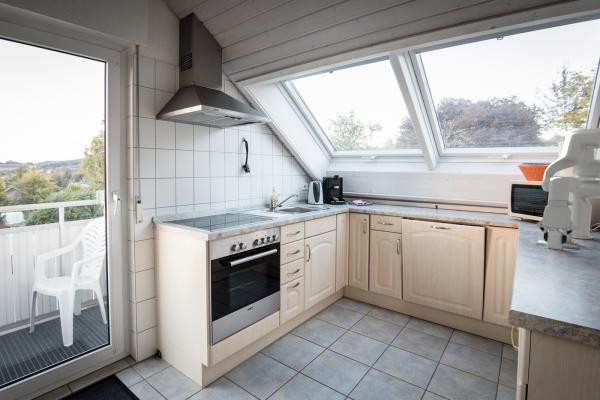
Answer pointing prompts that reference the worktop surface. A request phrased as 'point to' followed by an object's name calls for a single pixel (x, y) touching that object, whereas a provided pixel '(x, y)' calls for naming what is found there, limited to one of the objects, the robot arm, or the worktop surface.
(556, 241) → the eye dropper bottle
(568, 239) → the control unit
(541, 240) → the sage pad
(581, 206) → the robot arm
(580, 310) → the worktop surface
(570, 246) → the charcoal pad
